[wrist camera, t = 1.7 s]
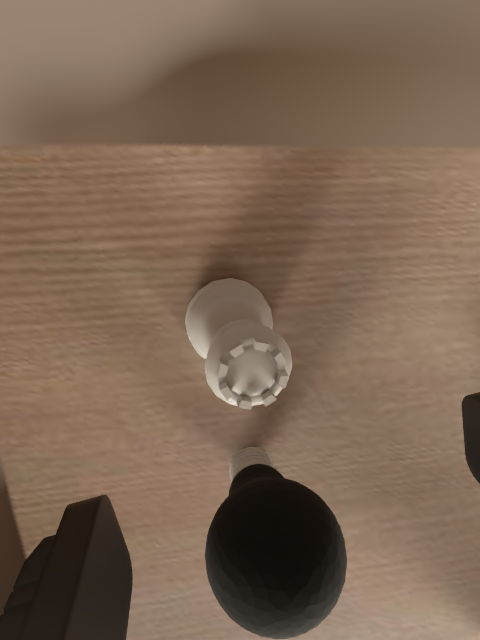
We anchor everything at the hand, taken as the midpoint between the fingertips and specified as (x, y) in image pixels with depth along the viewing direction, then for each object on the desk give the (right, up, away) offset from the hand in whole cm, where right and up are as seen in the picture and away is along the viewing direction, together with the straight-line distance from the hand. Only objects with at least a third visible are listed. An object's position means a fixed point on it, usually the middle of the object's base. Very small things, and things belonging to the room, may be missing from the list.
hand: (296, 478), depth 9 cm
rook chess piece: (-2, +4, +13) cm, 14 cm away
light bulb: (-1, -4, +15) cm, 16 cm away
